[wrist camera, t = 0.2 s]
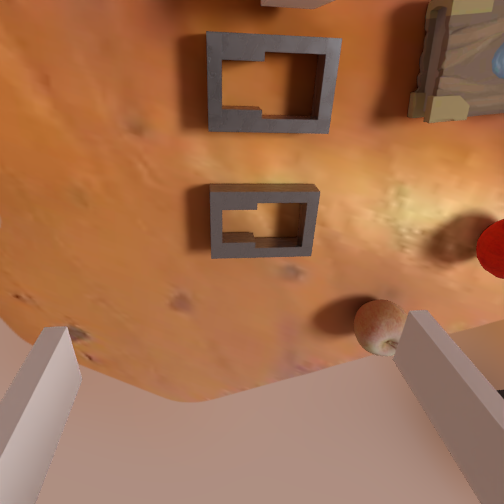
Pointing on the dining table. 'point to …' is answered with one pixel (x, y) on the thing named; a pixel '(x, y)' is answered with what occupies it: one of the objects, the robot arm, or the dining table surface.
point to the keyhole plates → (254, 121)
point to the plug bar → (295, 3)
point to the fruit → (379, 326)
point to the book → (461, 61)
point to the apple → (492, 249)
